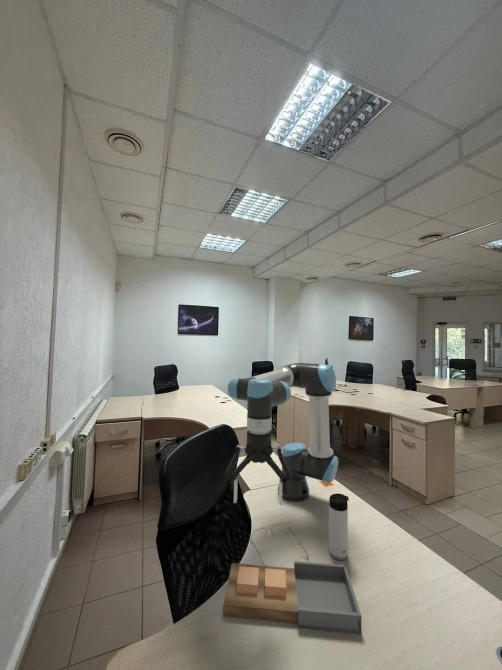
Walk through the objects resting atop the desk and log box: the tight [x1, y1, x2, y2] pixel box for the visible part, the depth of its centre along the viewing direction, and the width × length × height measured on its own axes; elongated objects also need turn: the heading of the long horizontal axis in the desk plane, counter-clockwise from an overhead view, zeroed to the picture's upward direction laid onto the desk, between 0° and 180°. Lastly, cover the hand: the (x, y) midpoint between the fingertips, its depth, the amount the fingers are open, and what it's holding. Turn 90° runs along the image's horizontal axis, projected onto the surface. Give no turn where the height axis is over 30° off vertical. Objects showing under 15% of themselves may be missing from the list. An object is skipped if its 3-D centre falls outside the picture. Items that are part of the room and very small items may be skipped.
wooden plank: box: [223, 562, 298, 624], centre depth 81 cm, size 14×20×3 cm
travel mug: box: [328, 493, 350, 561], centre depth 97 cm, size 6×7×20 cm
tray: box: [293, 560, 362, 635], centre depth 79 cm, size 16×16×4 cm
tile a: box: [237, 566, 259, 594], centre depth 81 cm, size 6×6×2 cm
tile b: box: [265, 568, 286, 597], centre depth 80 cm, size 6×6×2 cm
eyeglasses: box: [250, 522, 309, 566], centre depth 98 cm, size 16×15×5 cm
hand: (257, 501), depth 83 cm, fingers open, 13 cm apart
